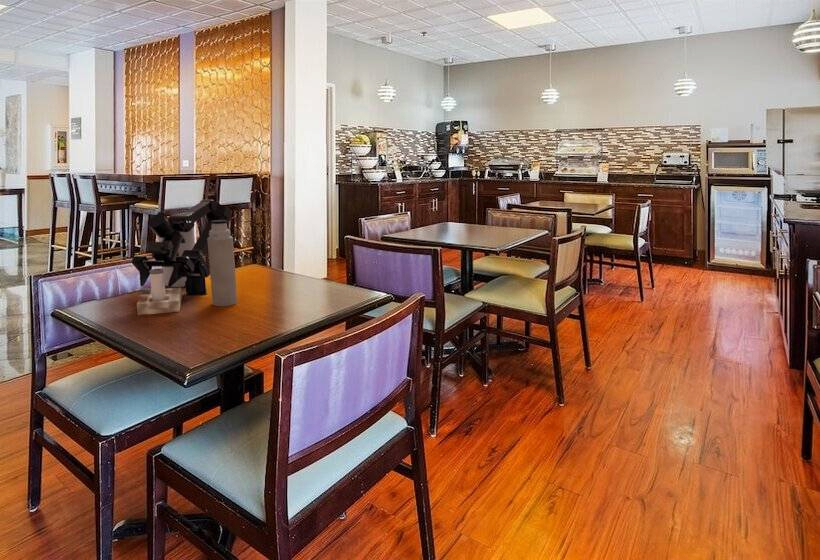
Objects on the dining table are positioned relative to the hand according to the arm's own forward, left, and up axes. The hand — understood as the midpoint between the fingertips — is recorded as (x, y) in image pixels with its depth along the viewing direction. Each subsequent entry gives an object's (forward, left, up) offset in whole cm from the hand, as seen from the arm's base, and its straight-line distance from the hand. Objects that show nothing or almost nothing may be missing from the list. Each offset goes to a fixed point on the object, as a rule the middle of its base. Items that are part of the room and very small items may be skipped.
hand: (155, 286), depth 172 cm
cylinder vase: (-6, -39, -8) cm, 41 cm away
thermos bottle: (-21, -2, -8) cm, 22 cm away
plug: (-1, -1, -8) cm, 8 cm away
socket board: (-1, -6, -8) cm, 10 cm away
